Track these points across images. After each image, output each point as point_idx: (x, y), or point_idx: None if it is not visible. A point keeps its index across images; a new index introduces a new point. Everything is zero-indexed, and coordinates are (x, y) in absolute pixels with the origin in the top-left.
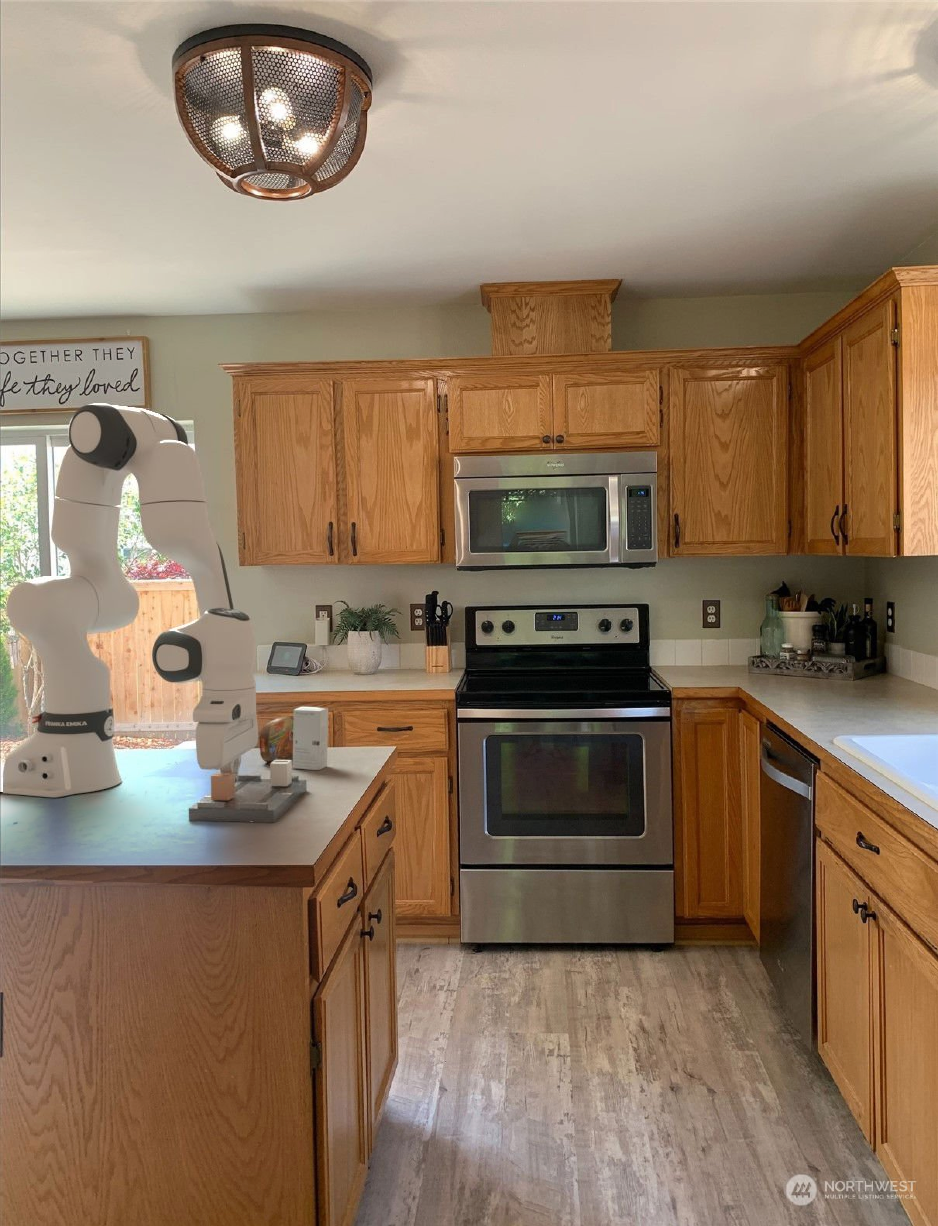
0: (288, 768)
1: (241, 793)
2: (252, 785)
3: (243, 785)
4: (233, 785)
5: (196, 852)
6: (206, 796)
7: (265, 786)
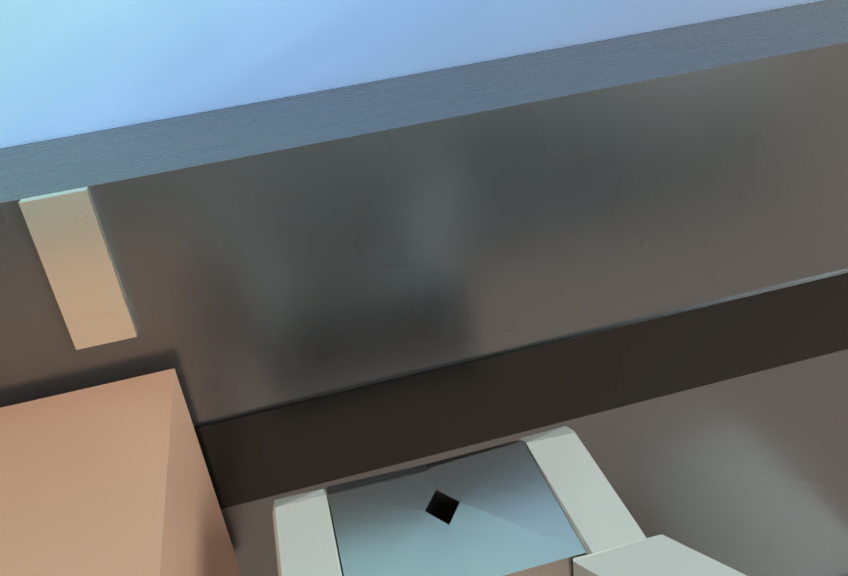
0: None
1: None
2: (796, 438)
3: (789, 355)
4: None
5: None
6: (60, 225)
7: (751, 572)
